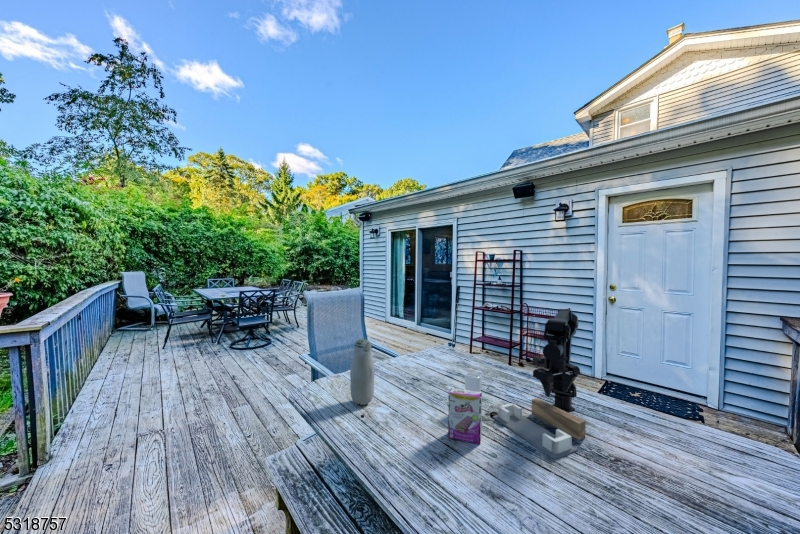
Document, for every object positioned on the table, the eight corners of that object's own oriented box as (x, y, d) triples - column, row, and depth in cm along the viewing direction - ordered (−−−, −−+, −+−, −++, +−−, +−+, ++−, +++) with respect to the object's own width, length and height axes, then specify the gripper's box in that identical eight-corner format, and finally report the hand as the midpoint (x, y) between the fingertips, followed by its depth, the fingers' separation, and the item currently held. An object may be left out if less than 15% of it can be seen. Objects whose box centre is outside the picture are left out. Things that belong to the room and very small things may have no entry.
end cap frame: (513, 412, 125) (513, 400, 125) (578, 450, 99) (578, 436, 99) (492, 417, 120) (492, 406, 120) (554, 459, 95) (554, 445, 95)
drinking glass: (481, 415, 122) (482, 378, 122) (464, 413, 123) (464, 377, 123) (480, 407, 129) (481, 372, 128) (464, 405, 130) (464, 371, 130)
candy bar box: (447, 439, 106) (447, 392, 105) (450, 431, 110) (450, 386, 110) (480, 445, 102) (481, 397, 102) (481, 437, 107) (482, 391, 107)
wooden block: (537, 412, 125) (537, 398, 125) (585, 438, 107) (585, 421, 107) (531, 414, 123) (531, 399, 123) (578, 440, 105) (578, 423, 105)
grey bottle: (346, 406, 130) (346, 341, 129) (358, 396, 139) (358, 335, 139) (367, 410, 126) (366, 343, 125) (377, 400, 135) (377, 337, 135)
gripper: (555, 345, 126) (555, 382, 126) (521, 350, 118) (521, 390, 119) (581, 352, 115) (580, 393, 116) (545, 359, 108) (545, 402, 108)
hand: (556, 394), depth 115 cm, fingers open, 9 cm apart
